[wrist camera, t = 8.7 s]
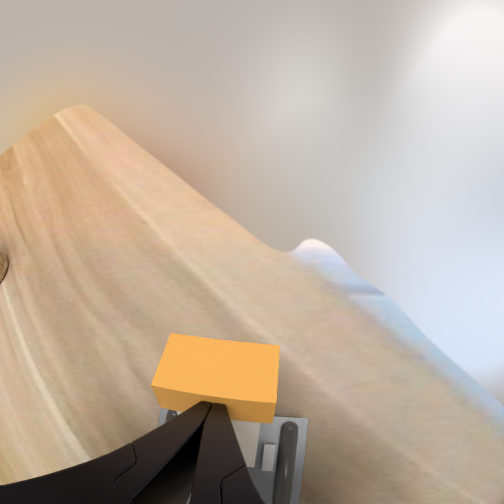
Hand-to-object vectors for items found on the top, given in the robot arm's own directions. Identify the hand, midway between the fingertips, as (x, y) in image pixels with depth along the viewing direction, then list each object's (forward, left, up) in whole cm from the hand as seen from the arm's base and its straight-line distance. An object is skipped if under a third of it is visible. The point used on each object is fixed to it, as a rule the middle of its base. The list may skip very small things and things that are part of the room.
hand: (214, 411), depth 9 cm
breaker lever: (-2, -1, -8) cm, 8 cm away
